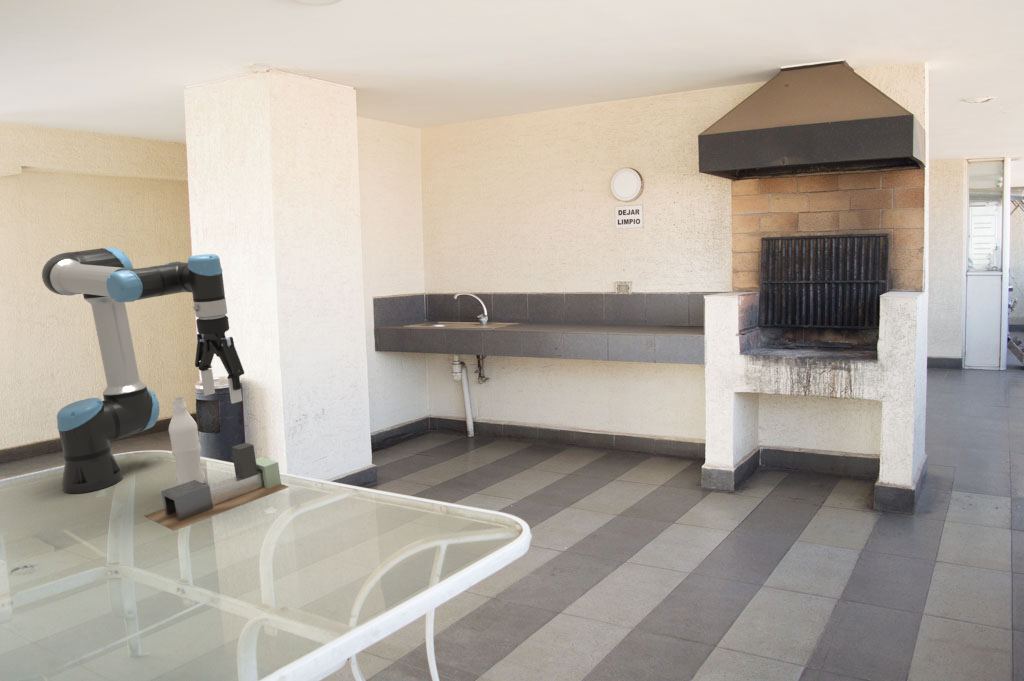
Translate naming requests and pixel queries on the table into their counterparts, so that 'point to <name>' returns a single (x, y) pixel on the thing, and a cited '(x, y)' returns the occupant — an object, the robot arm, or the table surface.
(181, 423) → the water bottle
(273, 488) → the base board
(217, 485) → the rod
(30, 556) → the table surface
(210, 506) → the sleeve
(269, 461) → the socket block
